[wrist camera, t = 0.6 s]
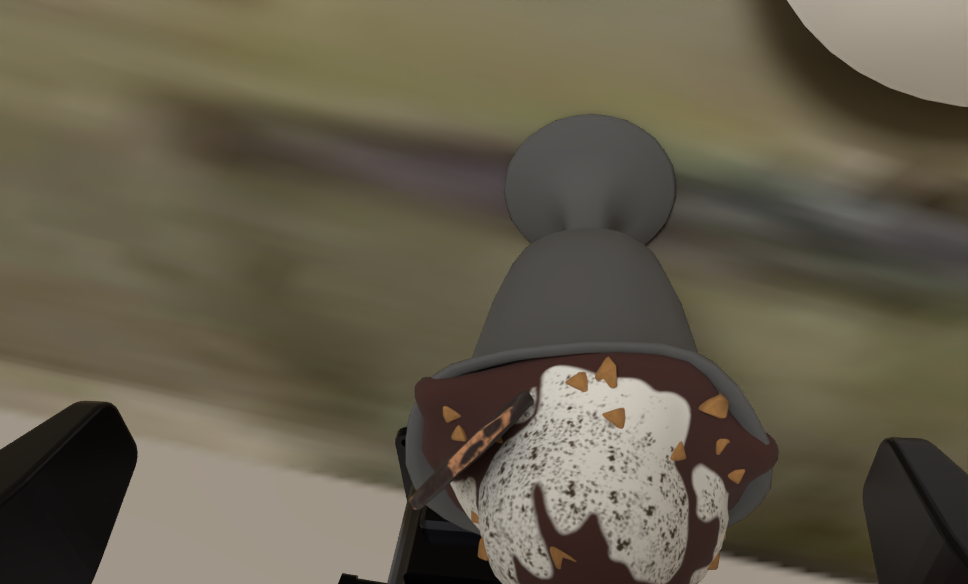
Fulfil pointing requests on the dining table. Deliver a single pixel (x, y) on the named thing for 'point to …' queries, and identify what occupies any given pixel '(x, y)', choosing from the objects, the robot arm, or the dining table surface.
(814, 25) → the stand
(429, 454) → the sundae
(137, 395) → the dining table surface
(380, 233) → the dining table surface
